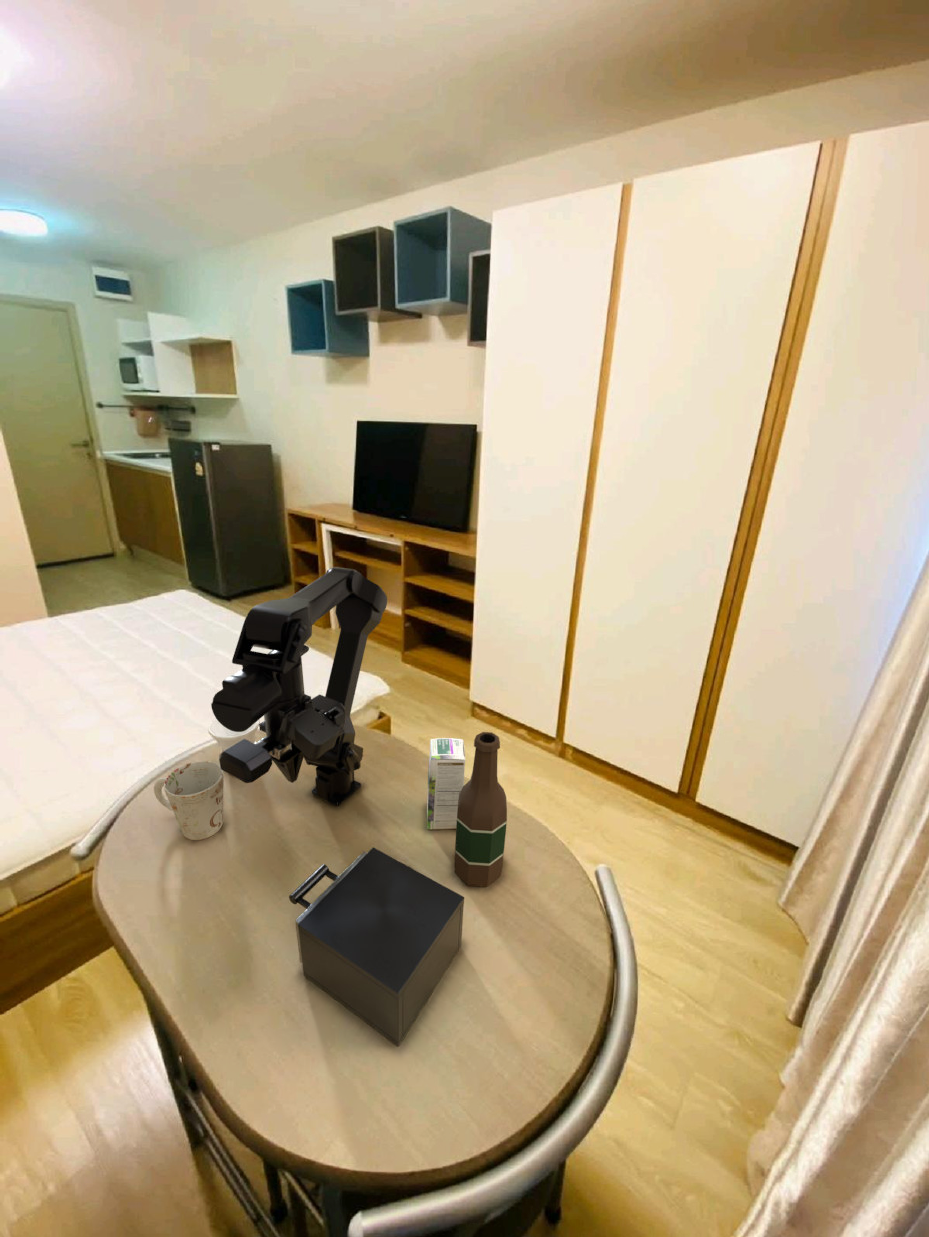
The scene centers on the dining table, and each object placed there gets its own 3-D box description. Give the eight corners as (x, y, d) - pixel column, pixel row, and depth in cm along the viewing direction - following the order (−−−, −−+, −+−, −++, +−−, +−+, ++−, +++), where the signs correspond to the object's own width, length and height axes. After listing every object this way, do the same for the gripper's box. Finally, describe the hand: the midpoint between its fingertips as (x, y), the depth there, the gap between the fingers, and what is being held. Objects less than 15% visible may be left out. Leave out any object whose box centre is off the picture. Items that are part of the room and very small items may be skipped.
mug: (209, 850, 81) (199, 800, 77) (139, 835, 83) (126, 785, 79) (241, 813, 88) (233, 765, 84) (176, 800, 90) (166, 752, 87)
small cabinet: (303, 975, 64) (297, 924, 60) (374, 894, 75) (373, 846, 71) (398, 1047, 57) (398, 994, 54) (461, 946, 68) (464, 897, 65)
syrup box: (426, 805, 92) (428, 737, 86) (459, 805, 92) (463, 737, 87) (427, 830, 87) (428, 759, 81) (462, 829, 87) (466, 758, 82)
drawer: (272, 941, 67) (266, 900, 64) (339, 873, 77) (337, 836, 74) (385, 1024, 58) (384, 982, 56) (444, 936, 68) (446, 897, 66)
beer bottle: (510, 858, 82) (523, 731, 73) (491, 897, 75) (503, 762, 66) (465, 841, 85) (473, 716, 76) (443, 876, 78) (449, 744, 69)
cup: (246, 745, 105) (240, 702, 101) (275, 763, 100) (270, 720, 97) (204, 767, 99) (196, 722, 95) (232, 788, 94) (225, 742, 90)
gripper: (269, 745, 62) (281, 844, 68) (370, 680, 77) (373, 766, 83) (209, 715, 67) (225, 810, 73) (315, 660, 82) (321, 742, 88)
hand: (292, 780), depth 79 cm, fingers closed
